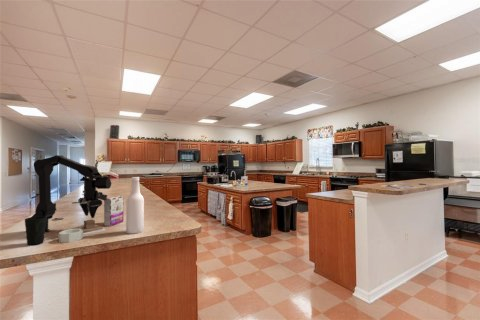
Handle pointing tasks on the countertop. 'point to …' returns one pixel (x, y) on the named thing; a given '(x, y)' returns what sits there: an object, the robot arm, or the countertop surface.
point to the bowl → (70, 235)
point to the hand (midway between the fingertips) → (89, 216)
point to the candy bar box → (113, 211)
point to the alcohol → (135, 209)
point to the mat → (94, 231)
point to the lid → (90, 226)
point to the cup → (35, 230)
